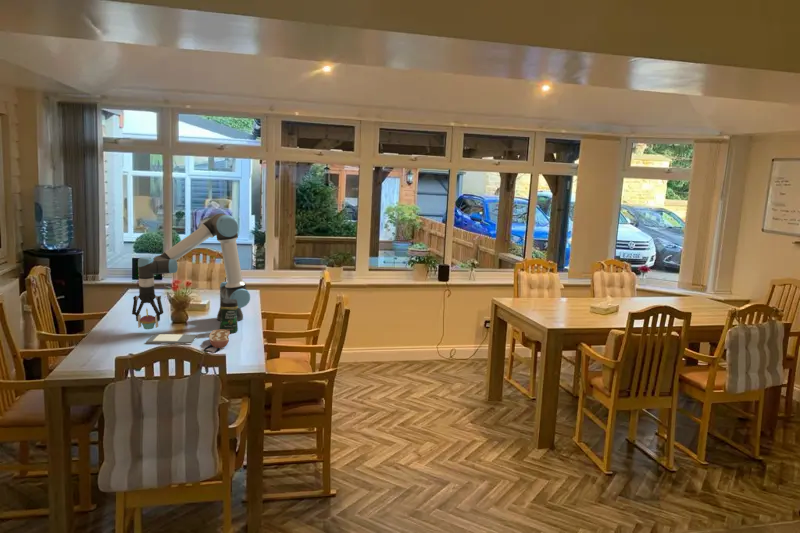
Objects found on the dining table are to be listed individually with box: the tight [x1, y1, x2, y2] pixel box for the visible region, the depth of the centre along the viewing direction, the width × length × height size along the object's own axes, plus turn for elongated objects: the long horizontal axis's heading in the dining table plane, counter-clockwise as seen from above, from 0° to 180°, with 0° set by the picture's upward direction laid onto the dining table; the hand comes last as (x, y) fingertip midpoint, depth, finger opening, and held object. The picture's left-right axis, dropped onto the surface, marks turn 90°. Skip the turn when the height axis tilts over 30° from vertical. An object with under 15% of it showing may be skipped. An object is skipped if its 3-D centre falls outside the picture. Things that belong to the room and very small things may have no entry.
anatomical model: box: [208, 328, 231, 349], centre depth 303 cm, size 23×10×5 cm, turn 14°
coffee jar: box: [219, 299, 239, 334], centre depth 325 cm, size 10×8×19 cm
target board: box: [145, 333, 198, 345], centre depth 306 cm, size 22×14×2 cm, turn 97°
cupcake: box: [140, 308, 156, 330], centre depth 316 cm, size 9×8×12 cm
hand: (148, 326), depth 316 cm, fingers closed on cupcake, 8 cm apart
